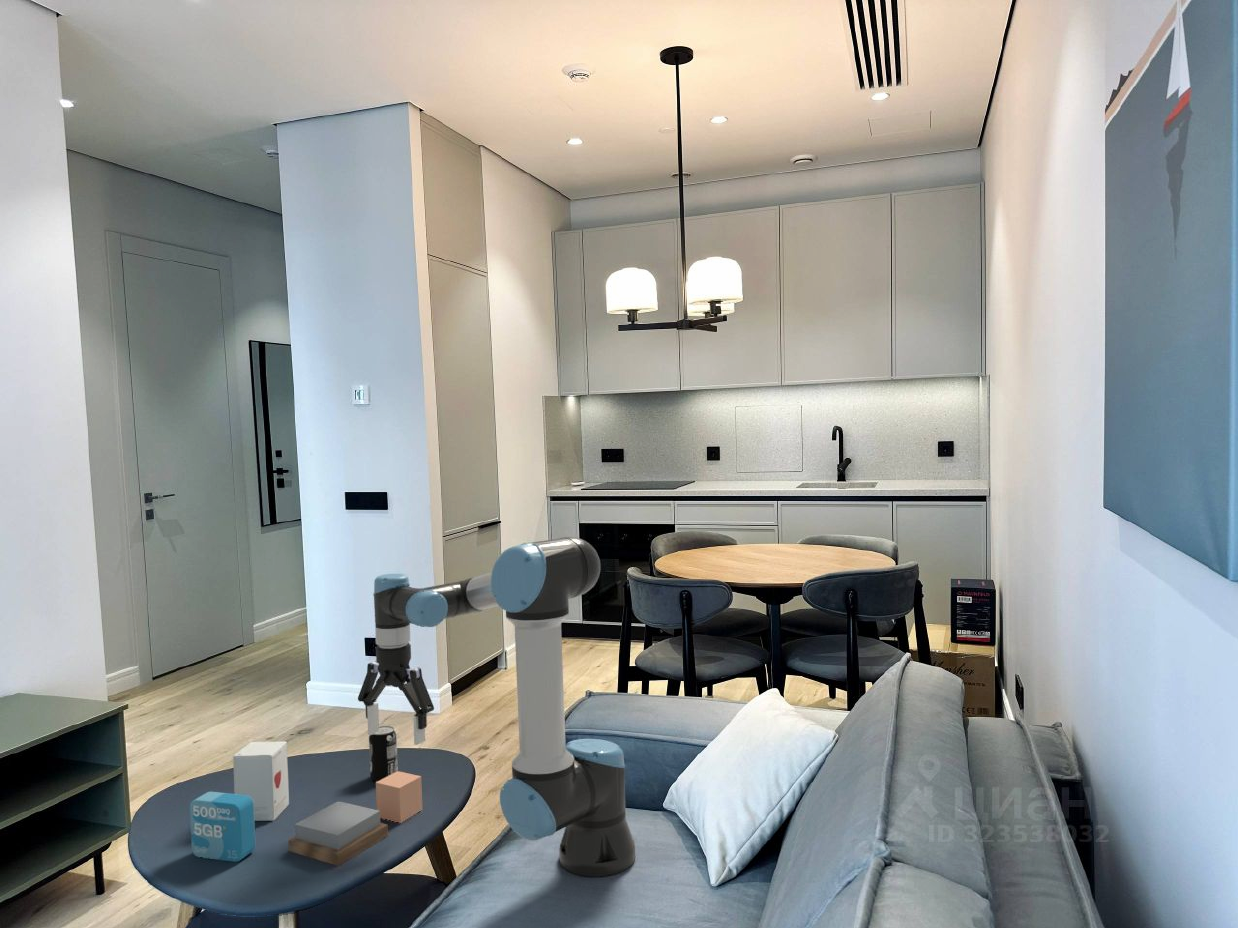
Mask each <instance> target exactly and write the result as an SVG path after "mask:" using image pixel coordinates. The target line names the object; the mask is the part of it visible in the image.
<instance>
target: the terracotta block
mask: <svg viewBox="0 0 1238 928" xmlns="http://www.w3.org/2000/svg"><path fill="white" fill-rule="evenodd" d="M422 783H423V782H422V776H421V775H416V774H412V773H408V772H405V771H397V772H395V773H393V774H391V775H389V776H387V777H385V778H383V779H382V780H380V781H375V793H376V794H375V796H376V797H375V798H376V799H375V800H376V810H378V811H380V819H381V818H382V820H385V819H387V820H386V821H389V820H391V821H390V822H392V821H394V822H393V823H396V822H399V823H398V824H400V823H401V824H402V822H403V821H405V820H406V819H408V818H410V817H411V816H413V815H414V814H416V813H418V812H419V811H421V810H423V792H422V791H423V789H422V787H423V785H422ZM421 812H422V811H421ZM418 814H419V813H418ZM416 815H417V814H416ZM413 817H414V816H413ZM411 818H412V817H411ZM411 818H410V819H411ZM408 820H409V819H408ZM406 821H407V820H406ZM406 821H405V822H406ZM403 823H404V822H403Z"/></svg>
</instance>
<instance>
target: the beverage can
mask: <svg viewBox="0 0 1238 928" xmlns="http://www.w3.org/2000/svg"><path fill="white" fill-rule="evenodd" d="M368 750H369V751H368V752H369V772H370V773H369V775H370V778H371V779H372V780H373V781H374V780H375V782H378V781H380V780H382V779H383V778H385V777H387V776H389V775H391V774H393V773H395V772H397V771H398V770H399V769H398V765H399V764H398V744H397V733H396V731H395V727H394V726H391V725H379V732H376V733H374V734H372V735H369V736H368Z"/></svg>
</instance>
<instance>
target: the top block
mask: <svg viewBox="0 0 1238 928" xmlns="http://www.w3.org/2000/svg"><path fill="white" fill-rule="evenodd" d="M381 823H382V822H381V818H380V811H378V810H377V809H374V808H369V807H365V806H361V805H356V804H352V803H348V802H343V801H335V802H334V803H333V804H332V803H331V804H329V806H327V807H325V808H322V809H321V810H318V811H317V812H315V813H314V814H312V815H310V816H308V817H306V818H304V819H302V820H300V821H299V822H297V823H295V824H294V834H295V836H296V839H299V840H303V841H307V842H311V843H314V844H318V845H322V846H326V847H329V848H333V849H337V850H339V849H341V848H343V847H344V846H346V845H348V844H349V843H351V842H353V841H354V840H356V839H358V838H359V837H361V836H363V835H364V834H366V833H368V832H369V831H371V830H373V829H374V828H376V827H378V826H379V825H381ZM295 836H294V837H295Z"/></svg>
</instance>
